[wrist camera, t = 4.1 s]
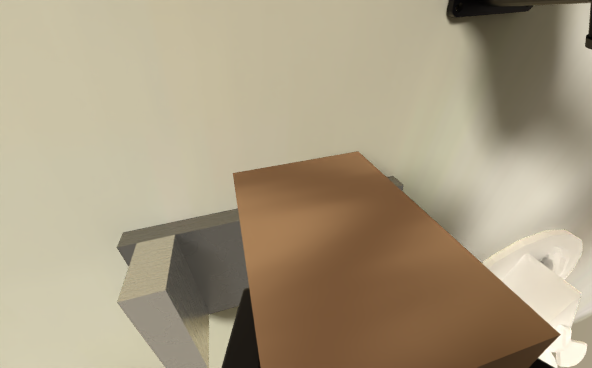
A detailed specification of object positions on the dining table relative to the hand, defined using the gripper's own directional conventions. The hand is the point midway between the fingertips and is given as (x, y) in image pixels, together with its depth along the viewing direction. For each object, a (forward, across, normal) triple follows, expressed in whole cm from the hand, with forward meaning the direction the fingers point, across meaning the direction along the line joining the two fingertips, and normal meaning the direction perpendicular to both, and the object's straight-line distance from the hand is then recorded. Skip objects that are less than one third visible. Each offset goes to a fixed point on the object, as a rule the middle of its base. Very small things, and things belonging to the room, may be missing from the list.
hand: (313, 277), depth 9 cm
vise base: (+11, 0, +10) cm, 15 cm away
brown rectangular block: (+1, 0, 0) cm, 1 cm away
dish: (+12, -36, +31) cm, 50 cm away
